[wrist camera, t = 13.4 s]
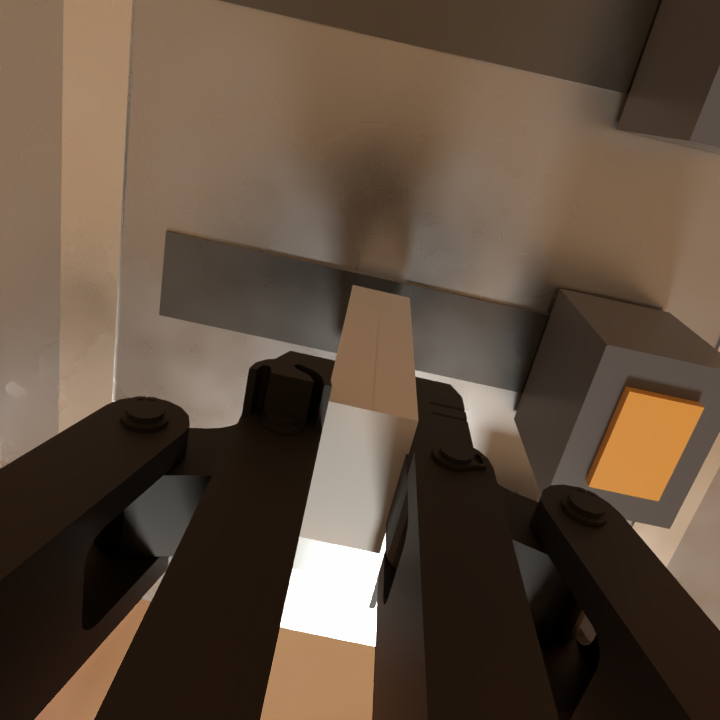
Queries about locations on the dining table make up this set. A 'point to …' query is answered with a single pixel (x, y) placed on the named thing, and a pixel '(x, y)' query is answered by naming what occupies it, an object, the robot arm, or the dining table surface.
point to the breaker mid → (620, 405)
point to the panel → (335, 217)
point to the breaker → (679, 78)
